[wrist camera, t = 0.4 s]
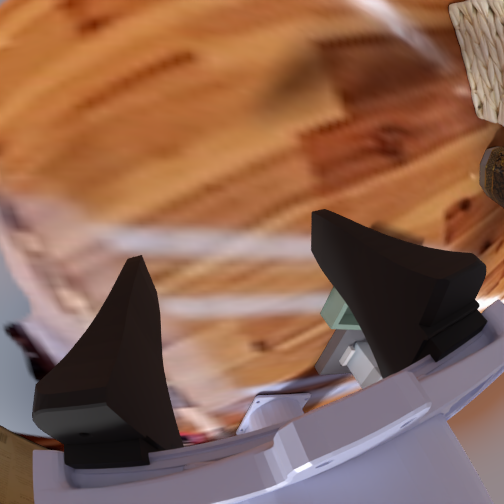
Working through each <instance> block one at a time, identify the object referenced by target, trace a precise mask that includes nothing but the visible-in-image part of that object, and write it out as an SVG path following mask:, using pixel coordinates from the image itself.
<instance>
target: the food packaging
mask: <svg viewBox="0 0 504 504" xmlns="http://www.w3.org/2000/svg"><path fill="white" fill-rule="evenodd" d="M33 450H49V449H47V448H45V447H43V446H40V445H38V444H36V443H34V442H32V441H29V440H27V439H25V438H23V437H21V436H19V435H17V434H15V433H13V432H11V431H9V430H8V429H6V428H4V427H2V426H0V504H34V490H33Z"/></svg>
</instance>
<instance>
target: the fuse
mask: <svg viewBox="0 0 504 504" xmlns="http://www.w3.org/2000/svg"><path fill="white" fill-rule="evenodd" d="M353 347H354V349H355V350H356V351H355V352H354V354H353V356H352V357H351V359H350V360H349V362H348V363H347V366H348V368H349V369H350V371H351V373H352V374H353V376H354V377H355V379H356V380H357V382H358V383H359V385H360V386H361V388H362V389H363V388H365V387H368V386H370V385H372V384H374V383H376V382H378V381H380V380H382V379H383V378H382V375H381V373H380V370H379V368H378V365H377V362H376V360H375V358H374V355H373V353H372V351H371V349H370V346H369V344H368V342H367V341H355V343H354V344H353Z"/></svg>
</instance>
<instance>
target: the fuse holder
mask: <svg viewBox="0 0 504 504" xmlns="http://www.w3.org/2000/svg"><path fill="white" fill-rule="evenodd" d="M355 341H367V340H366V338H365V336H364V334H363V332H362V330H346V329H336V330H335V332H334V334H333V336H332V337H331V339H330V341H329V343H328V344H327V346H326V348H325V350H324V351H323V353H322V355H321V356H320V358H319V360H318V361H317V363H316V365H315V366H314V367H315V368H316V370H317V372H318V374H319V375H329V374H344V373H351V371H350V369H349V368H348V366H347V363H348V362H349V360H350V359H351V357H352V356H353V354H354V352H355V351H356V350H355V349H354V347H353V344H354V343H355Z"/></svg>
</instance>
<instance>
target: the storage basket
mask: <svg viewBox="0 0 504 504" xmlns="http://www.w3.org/2000/svg"><path fill="white" fill-rule="evenodd" d="M449 14H450V18H451V21H452V23H453V26H454V28H455V31H456V35H457V38H458V42H459V44H460V47H461V52H462V56H463V60H464V63H465V67H466V70H467V76H468V80H469V84H470V87H471V96H472V100H473V104H474V107H475V111H476V114H477V116H478V118H481V119H485V120H487V121H490V122H493V123H499V124H501V125H502V126H503V127H504V0H467V1H464V2H459V3H453V4H450V5H449ZM478 106H479V108H478Z"/></svg>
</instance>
